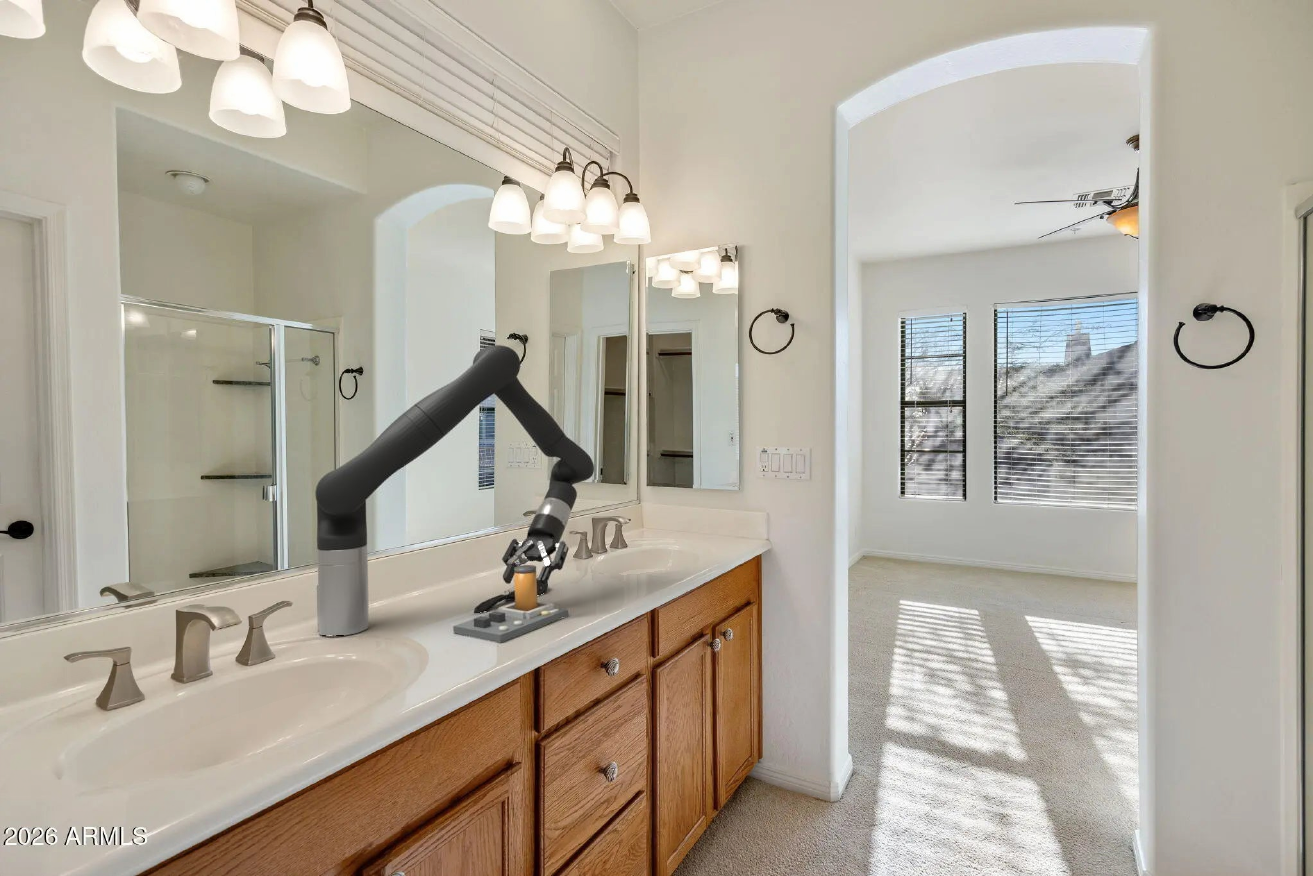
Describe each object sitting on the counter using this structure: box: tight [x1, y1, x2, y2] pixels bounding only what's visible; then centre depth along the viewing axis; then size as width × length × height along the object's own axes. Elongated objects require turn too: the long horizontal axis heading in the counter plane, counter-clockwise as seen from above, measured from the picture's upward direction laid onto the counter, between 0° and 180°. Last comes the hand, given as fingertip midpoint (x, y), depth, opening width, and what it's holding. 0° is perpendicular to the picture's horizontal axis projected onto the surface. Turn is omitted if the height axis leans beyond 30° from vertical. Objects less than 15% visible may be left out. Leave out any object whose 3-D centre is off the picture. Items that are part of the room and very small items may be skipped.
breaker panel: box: [453, 600, 569, 644], centre depth 129 cm, size 13×20×3 cm, turn 149°
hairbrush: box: [473, 574, 549, 614], centre depth 149 cm, size 8×4×25 cm
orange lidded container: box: [514, 564, 538, 611], centre depth 133 cm, size 5×5×10 cm
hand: (523, 582), depth 132 cm, fingers open, 8 cm apart
